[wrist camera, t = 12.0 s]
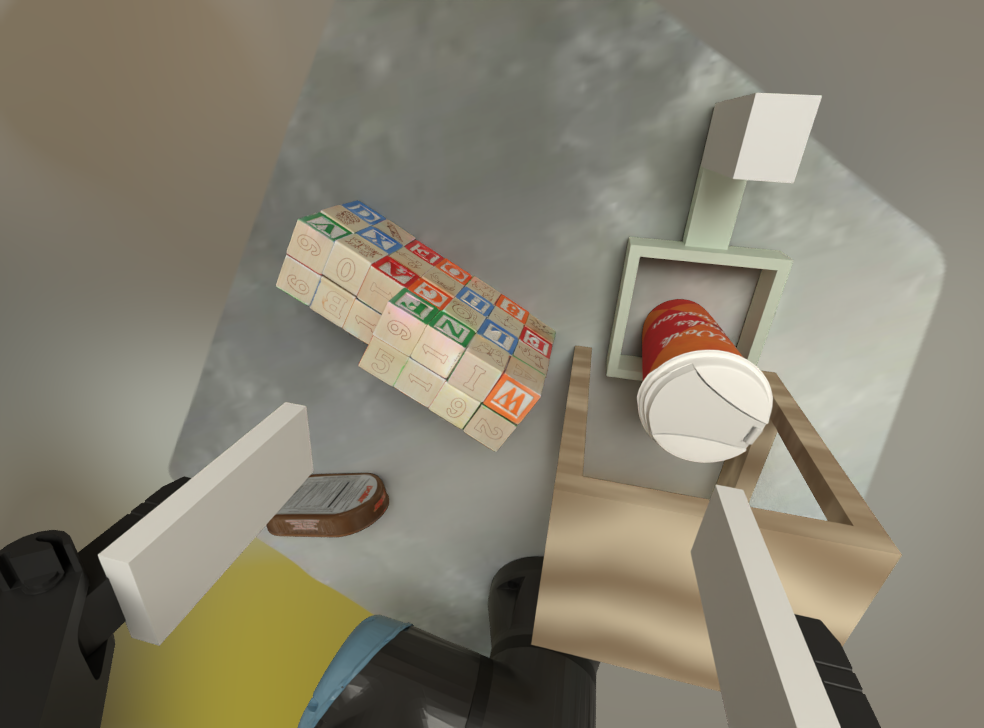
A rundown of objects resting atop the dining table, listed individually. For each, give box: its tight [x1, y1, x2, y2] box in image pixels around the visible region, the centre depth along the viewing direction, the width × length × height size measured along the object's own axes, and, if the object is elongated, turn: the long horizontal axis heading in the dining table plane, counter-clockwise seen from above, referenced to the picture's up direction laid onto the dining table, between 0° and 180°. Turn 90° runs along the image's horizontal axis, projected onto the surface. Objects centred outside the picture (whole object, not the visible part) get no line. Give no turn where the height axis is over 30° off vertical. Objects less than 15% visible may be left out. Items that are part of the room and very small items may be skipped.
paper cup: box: [637, 299, 773, 463], centre depth 34 cm, size 8×8×14 cm
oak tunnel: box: [531, 346, 902, 692], centre depth 36 cm, size 14×17×20 cm
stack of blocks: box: [276, 200, 556, 452], centre depth 38 cm, size 21×6×12 cm, turn 59°
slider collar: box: [606, 93, 822, 381], centre depth 32 cm, size 21×11×10 cm, turn 177°
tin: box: [267, 473, 389, 537], centre depth 53 cm, size 15×3×8 cm, turn 103°
